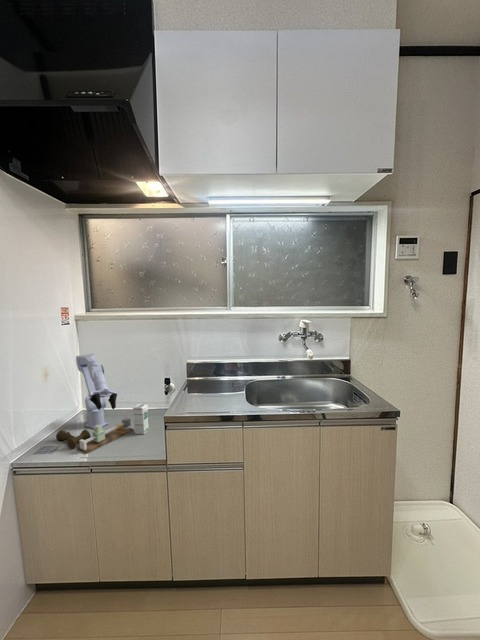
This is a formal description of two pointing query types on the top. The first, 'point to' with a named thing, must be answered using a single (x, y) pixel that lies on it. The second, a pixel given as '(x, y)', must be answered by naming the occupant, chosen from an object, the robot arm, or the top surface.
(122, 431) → the board
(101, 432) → the sleeve
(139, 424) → the syrup box
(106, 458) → the top surface
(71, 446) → the kendama
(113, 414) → the top surface
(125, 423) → the linear slide rail
